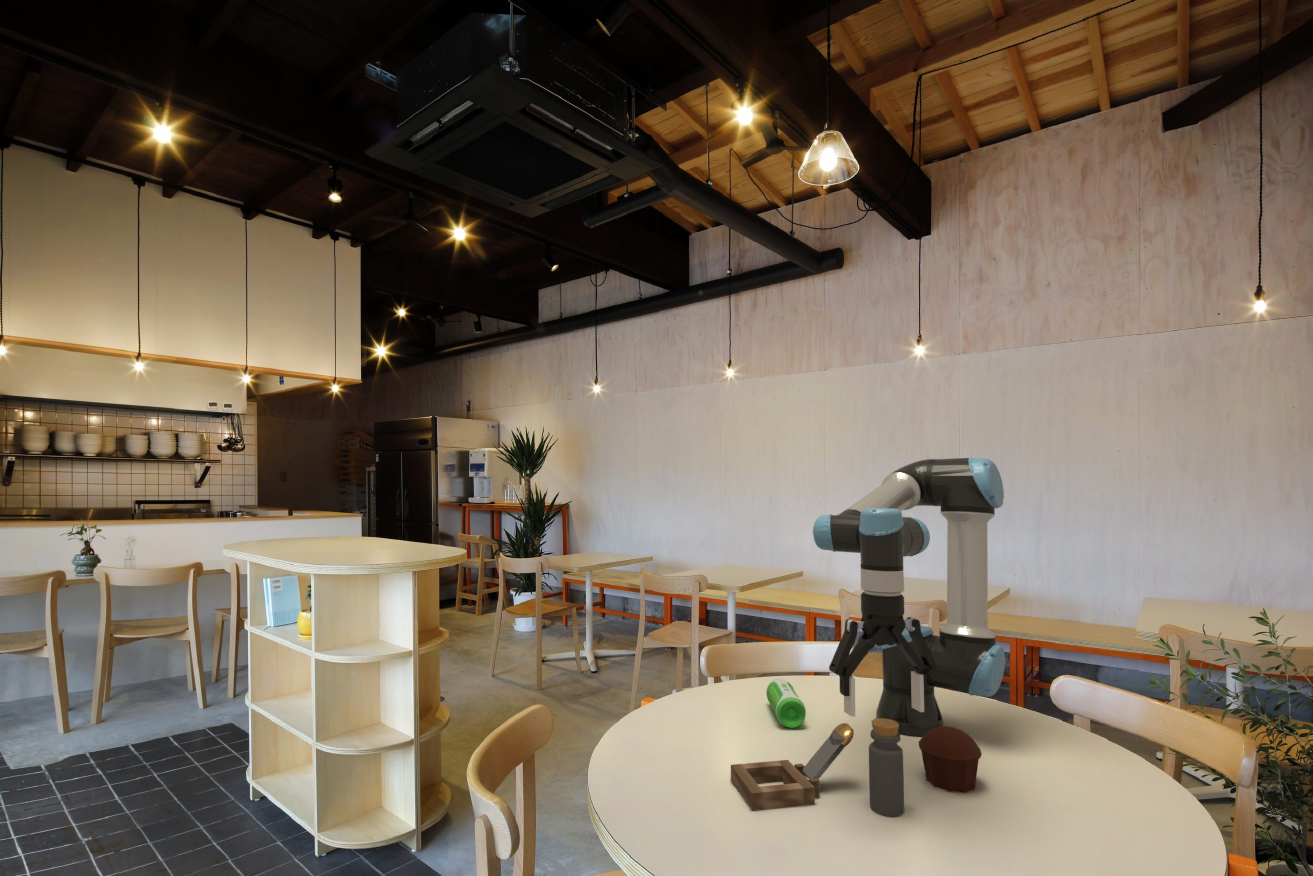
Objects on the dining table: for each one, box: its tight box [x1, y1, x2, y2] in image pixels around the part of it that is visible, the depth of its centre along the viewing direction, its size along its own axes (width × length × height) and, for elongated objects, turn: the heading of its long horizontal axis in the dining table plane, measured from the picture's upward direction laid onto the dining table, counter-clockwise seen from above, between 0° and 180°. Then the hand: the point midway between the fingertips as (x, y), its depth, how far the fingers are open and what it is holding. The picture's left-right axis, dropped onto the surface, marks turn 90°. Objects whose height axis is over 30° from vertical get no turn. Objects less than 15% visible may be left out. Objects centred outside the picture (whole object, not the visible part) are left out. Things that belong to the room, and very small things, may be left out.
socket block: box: [730, 759, 820, 812], centre depth 122 cm, size 14×12×3 cm
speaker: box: [766, 678, 807, 729], centre depth 161 cm, size 18×7×8 cm, turn 179°
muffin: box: [918, 725, 983, 794], centre depth 126 cm, size 12×11×10 cm
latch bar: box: [800, 722, 855, 781], centre depth 124 cm, size 14×5×1 cm
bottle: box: [868, 718, 905, 818], centre depth 116 cm, size 6×6×15 cm
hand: (884, 712), depth 116 cm, fingers open, 13 cm apart
